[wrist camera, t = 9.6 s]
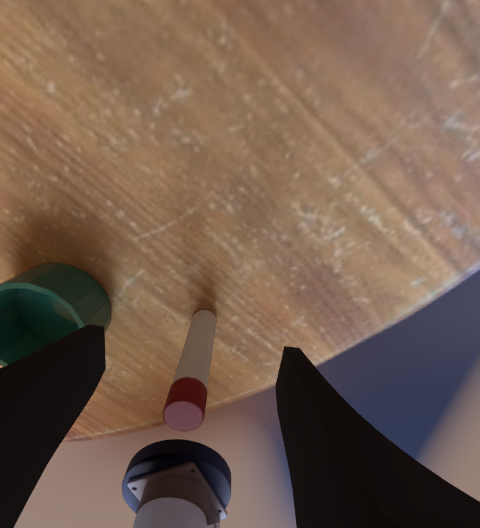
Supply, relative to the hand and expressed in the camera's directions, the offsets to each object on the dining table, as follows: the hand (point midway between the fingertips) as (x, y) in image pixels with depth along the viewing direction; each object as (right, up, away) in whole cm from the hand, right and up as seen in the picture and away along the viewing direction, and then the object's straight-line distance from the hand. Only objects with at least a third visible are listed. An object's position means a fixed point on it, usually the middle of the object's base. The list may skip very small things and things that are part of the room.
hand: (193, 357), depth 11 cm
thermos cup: (-11, +1, +9) cm, 14 cm away
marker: (-1, 0, +10) cm, 10 cm away
